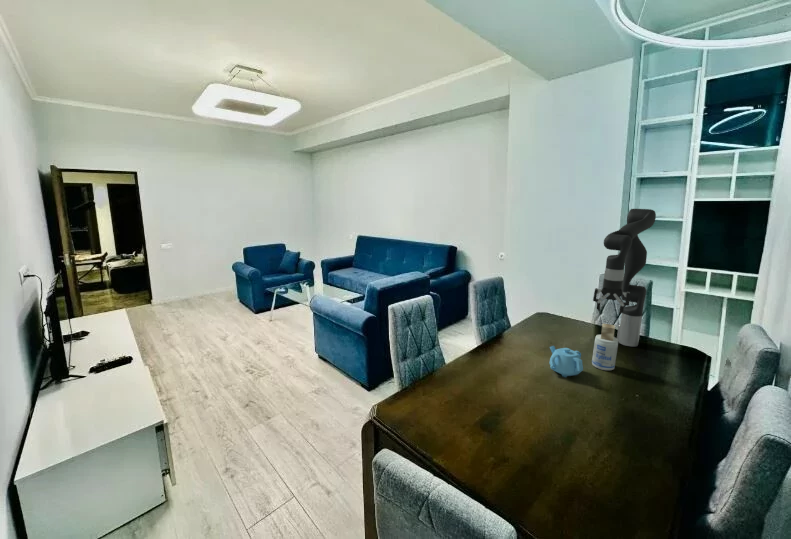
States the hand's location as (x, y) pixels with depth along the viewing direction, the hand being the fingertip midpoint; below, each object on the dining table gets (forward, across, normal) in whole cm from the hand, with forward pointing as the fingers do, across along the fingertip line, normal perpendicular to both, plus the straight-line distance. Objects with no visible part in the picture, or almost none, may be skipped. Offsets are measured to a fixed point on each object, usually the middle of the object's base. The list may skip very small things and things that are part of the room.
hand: (609, 311), depth 161 cm
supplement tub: (+28, 0, 0) cm, 28 cm away
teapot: (+28, -16, -15) cm, 35 cm away
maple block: (+13, 0, 0) cm, 13 cm away
